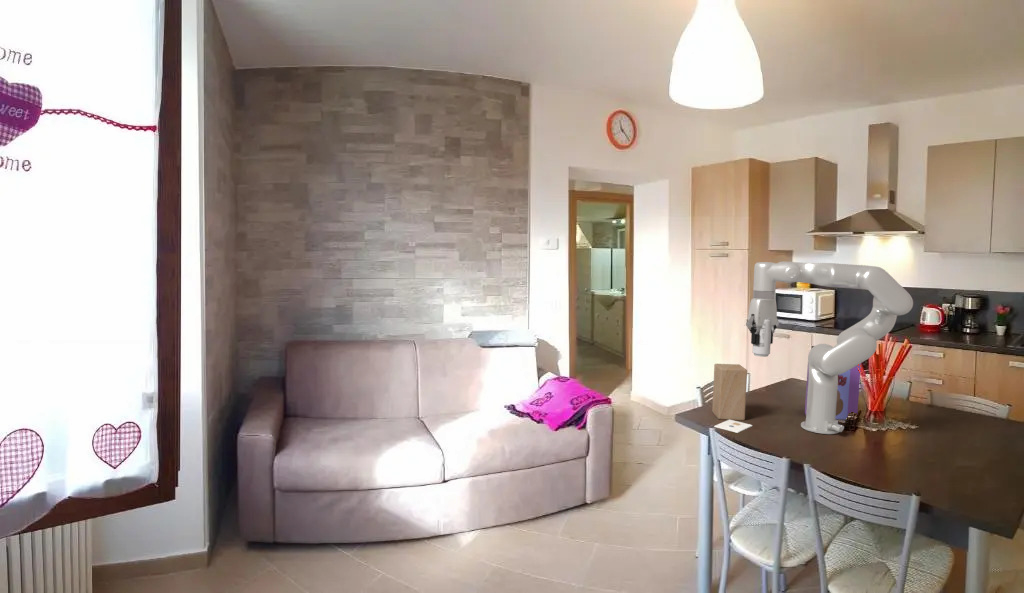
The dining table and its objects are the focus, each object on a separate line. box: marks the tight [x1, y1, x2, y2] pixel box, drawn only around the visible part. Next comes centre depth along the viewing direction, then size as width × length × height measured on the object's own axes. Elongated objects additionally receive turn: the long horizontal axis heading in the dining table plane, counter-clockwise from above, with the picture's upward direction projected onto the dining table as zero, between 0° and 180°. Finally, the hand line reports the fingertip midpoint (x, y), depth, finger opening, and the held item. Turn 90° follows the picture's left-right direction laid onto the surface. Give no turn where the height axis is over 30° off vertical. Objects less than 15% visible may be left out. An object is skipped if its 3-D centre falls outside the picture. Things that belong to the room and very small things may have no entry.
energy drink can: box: [752, 318, 772, 358], centre depth 212 cm, size 6×6×15 cm
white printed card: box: [713, 419, 753, 434], centre depth 213 cm, size 9×12×1 cm
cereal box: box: [804, 363, 862, 421], centre depth 225 cm, size 17×5×24 cm, turn 76°
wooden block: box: [711, 363, 748, 421], centre depth 224 cm, size 10×10×20 cm
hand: (761, 343), depth 212 cm, fingers closed on energy drink can, 6 cm apart
